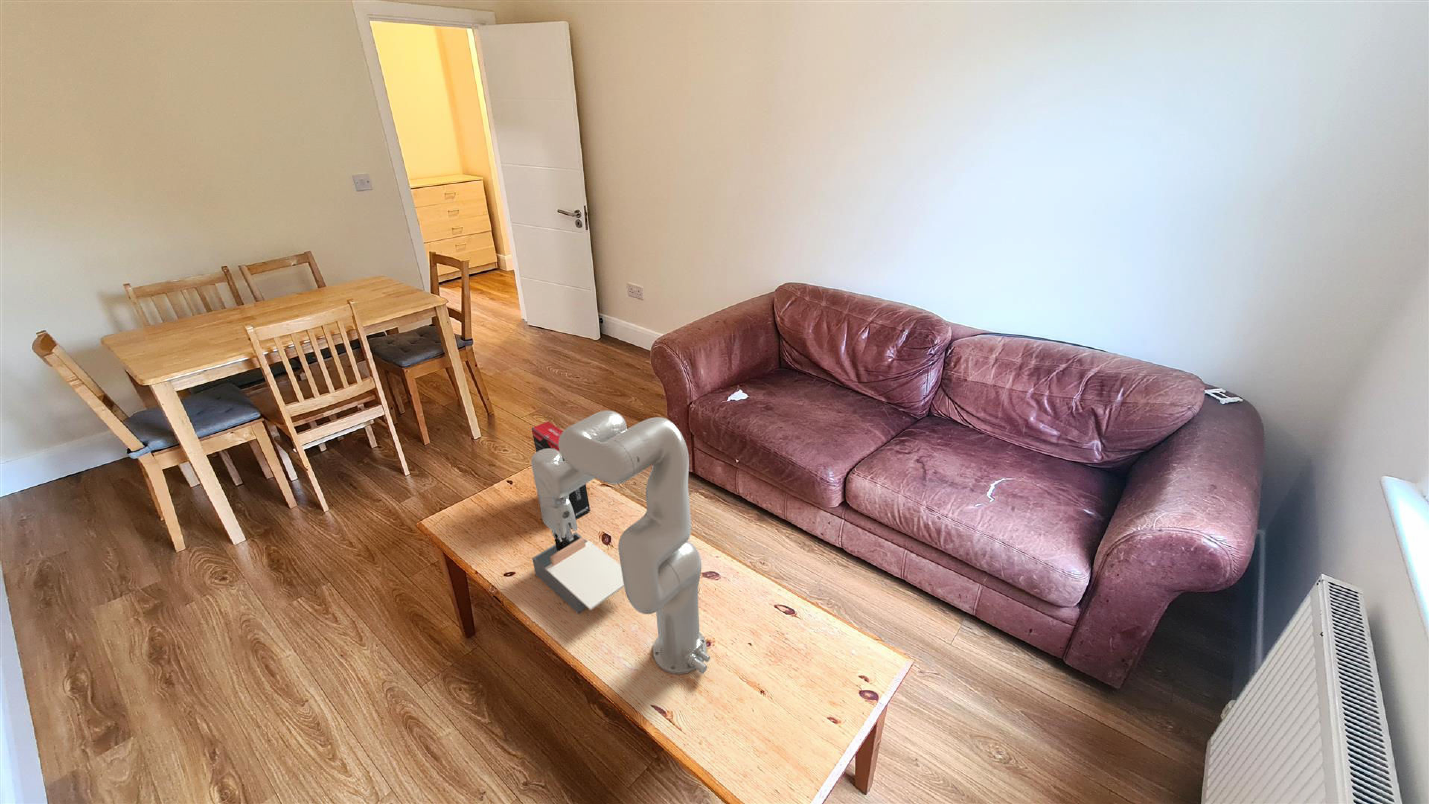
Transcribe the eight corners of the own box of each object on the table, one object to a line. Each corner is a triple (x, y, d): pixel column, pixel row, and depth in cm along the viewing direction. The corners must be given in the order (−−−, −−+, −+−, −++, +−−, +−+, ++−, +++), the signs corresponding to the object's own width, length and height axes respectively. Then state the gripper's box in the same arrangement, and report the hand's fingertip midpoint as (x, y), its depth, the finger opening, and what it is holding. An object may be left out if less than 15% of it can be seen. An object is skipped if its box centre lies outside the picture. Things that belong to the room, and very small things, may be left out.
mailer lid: (635, 578, 147) (634, 569, 146) (590, 610, 138) (589, 601, 137) (589, 542, 159) (587, 533, 158) (545, 569, 151) (543, 560, 149)
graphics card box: (592, 512, 181) (581, 438, 168) (573, 523, 176) (560, 448, 163) (561, 489, 191) (549, 419, 178) (543, 499, 187) (529, 427, 174)
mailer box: (621, 583, 154) (619, 566, 151) (578, 613, 145) (574, 596, 143) (578, 548, 166) (575, 532, 164) (535, 574, 158) (532, 558, 155)
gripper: (582, 499, 145) (591, 554, 153) (549, 476, 154) (559, 529, 162) (556, 514, 140) (567, 569, 149) (524, 489, 149) (536, 543, 158)
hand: (563, 548), depth 156 cm, fingers closed
